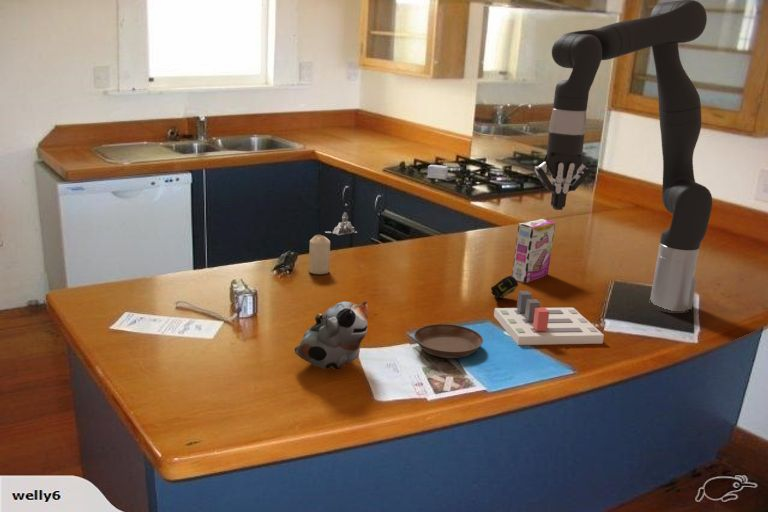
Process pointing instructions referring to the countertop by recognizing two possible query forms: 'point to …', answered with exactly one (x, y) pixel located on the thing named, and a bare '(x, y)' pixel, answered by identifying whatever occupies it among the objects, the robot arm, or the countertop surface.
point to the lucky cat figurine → (335, 336)
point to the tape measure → (504, 287)
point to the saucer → (448, 340)
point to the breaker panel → (561, 324)
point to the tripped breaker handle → (541, 319)
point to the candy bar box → (533, 250)
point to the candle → (319, 255)
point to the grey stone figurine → (344, 227)
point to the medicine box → (437, 171)
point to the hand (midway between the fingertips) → (557, 209)
